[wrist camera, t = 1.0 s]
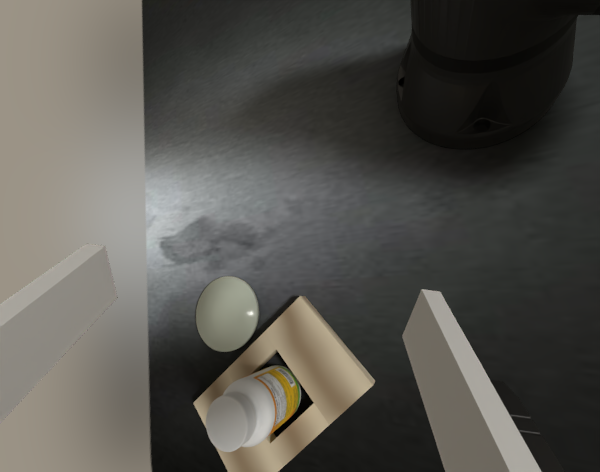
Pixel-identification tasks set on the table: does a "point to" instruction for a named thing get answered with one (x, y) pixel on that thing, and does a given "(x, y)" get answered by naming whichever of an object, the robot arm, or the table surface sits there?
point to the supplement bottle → (253, 408)
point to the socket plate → (310, 373)
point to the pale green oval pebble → (227, 314)
